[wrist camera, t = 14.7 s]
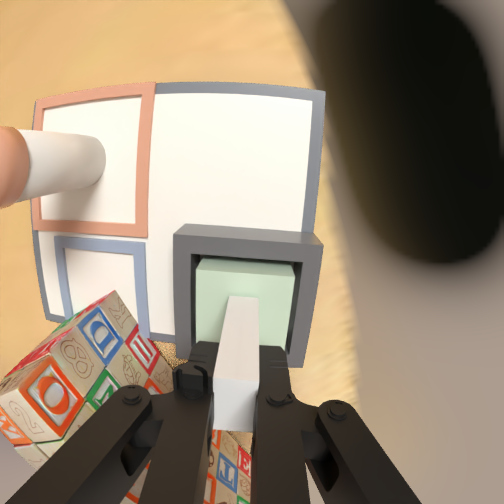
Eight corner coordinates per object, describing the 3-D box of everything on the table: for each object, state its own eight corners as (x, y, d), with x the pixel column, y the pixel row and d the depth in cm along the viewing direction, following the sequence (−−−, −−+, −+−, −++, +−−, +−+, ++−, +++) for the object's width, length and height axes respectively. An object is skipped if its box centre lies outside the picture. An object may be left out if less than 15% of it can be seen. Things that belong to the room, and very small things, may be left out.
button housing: (185, 223, 19) (172, 234, 16) (313, 233, 19) (323, 245, 16) (185, 334, 21) (176, 358, 18) (297, 342, 21) (302, 367, 18)
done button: (205, 252, 18) (196, 269, 15) (289, 259, 18) (294, 277, 15) (204, 325, 20) (196, 350, 17) (280, 331, 20) (283, 357, 17)
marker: (64, 136, 17) (-44, 133, 7) (109, 131, 17) (1, 118, 7) (63, 189, 18) (-44, 215, 8) (106, 188, 18) (-1, 215, 8)
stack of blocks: (255, 457, 25) (256, 561, 13) (204, 469, 26) (191, 564, 14) (115, 285, 20) (13, 389, 8) (65, 316, 21) (-25, 406, 9)
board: (39, 102, 17) (32, 100, 16) (323, 93, 17) (327, 89, 16) (49, 316, 22) (43, 321, 21) (294, 348, 22) (295, 356, 21)
